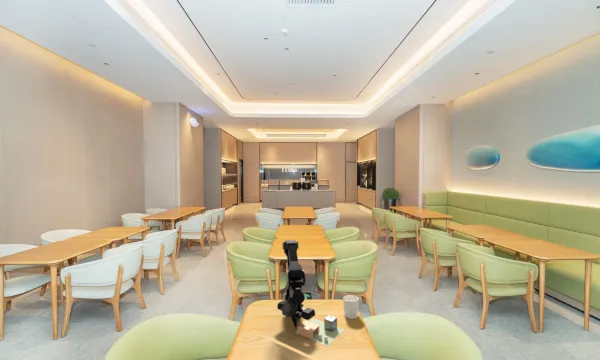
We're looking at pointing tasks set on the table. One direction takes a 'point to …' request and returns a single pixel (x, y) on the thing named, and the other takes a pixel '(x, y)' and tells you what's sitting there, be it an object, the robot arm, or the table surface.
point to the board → (324, 333)
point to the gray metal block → (330, 323)
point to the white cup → (351, 306)
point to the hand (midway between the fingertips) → (295, 326)
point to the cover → (308, 329)
